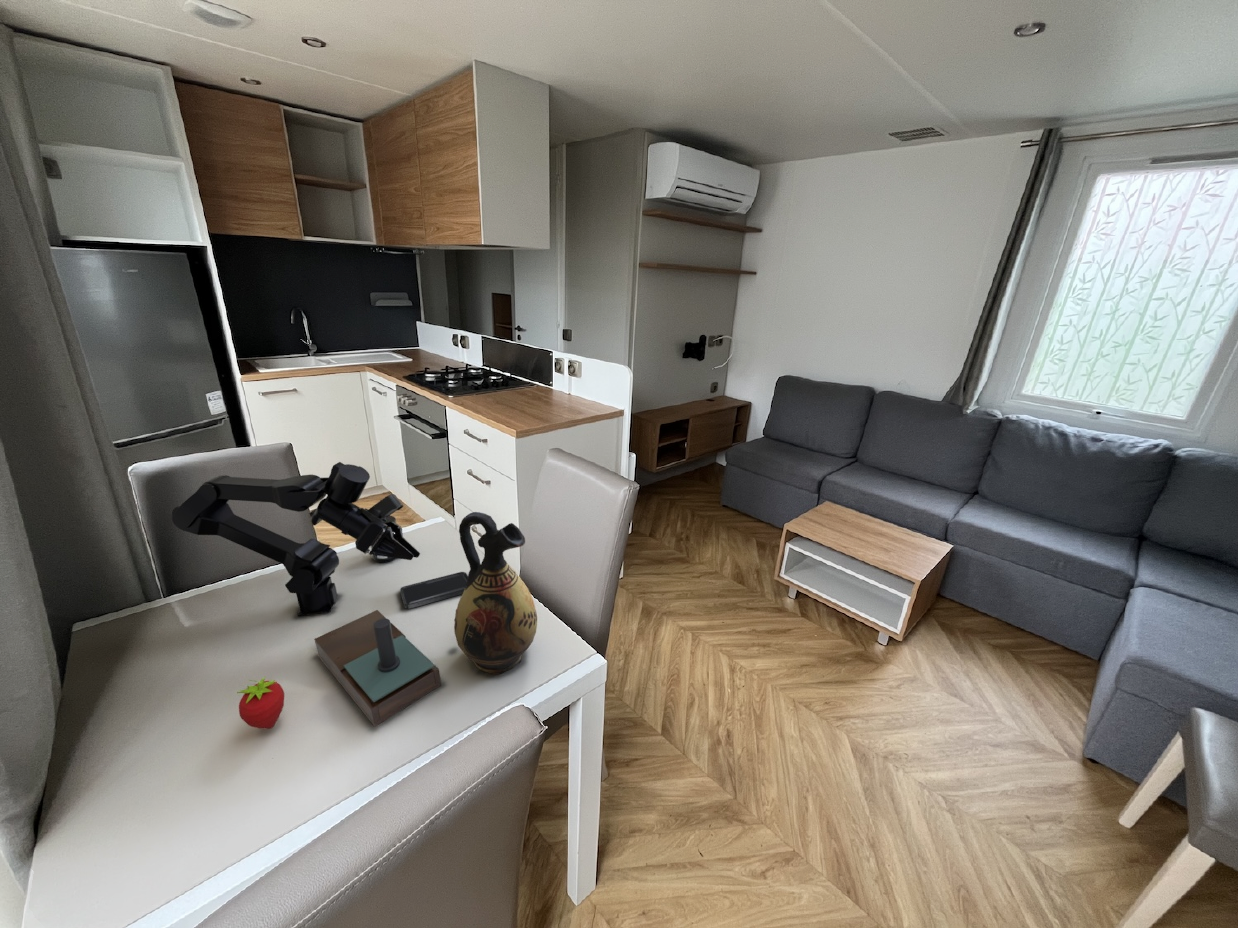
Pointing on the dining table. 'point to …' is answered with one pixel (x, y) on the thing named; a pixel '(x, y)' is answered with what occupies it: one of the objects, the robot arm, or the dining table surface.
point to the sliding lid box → (356, 643)
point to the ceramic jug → (493, 600)
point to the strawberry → (261, 704)
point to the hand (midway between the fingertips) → (416, 556)
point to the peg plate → (387, 663)
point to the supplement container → (384, 558)
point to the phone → (433, 590)
